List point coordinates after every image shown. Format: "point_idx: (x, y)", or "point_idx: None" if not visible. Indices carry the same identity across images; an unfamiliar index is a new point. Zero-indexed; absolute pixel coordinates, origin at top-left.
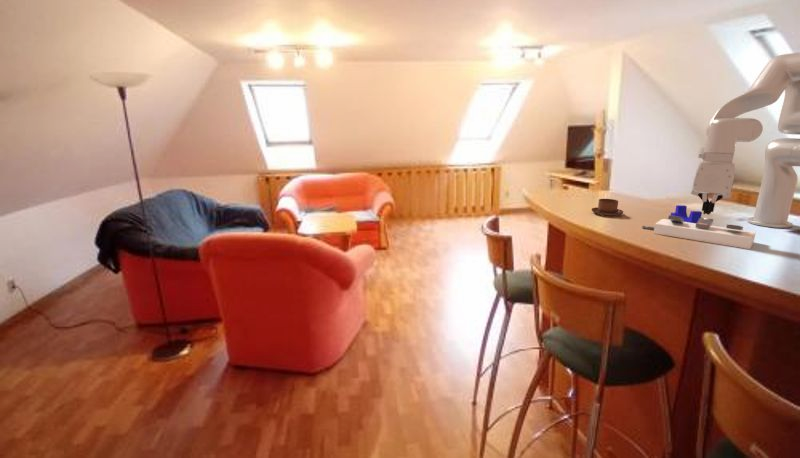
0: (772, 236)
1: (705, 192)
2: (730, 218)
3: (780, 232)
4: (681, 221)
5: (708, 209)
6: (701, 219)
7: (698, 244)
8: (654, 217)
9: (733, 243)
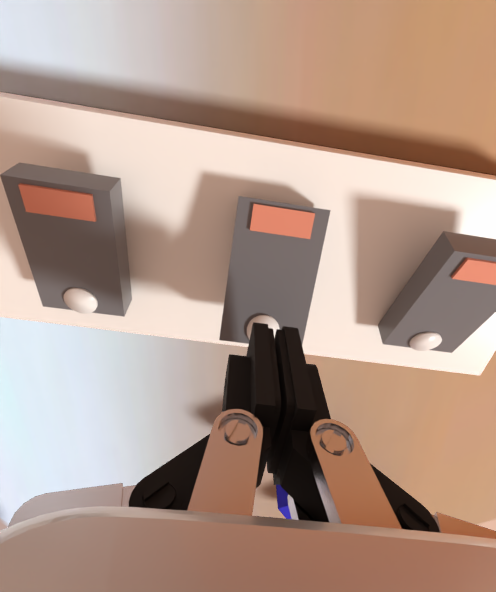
0: (10, 431)
1: (396, 535)
2: None
3: (8, 494)
4: (415, 271)
5: (267, 349)
6: (292, 315)
7: (286, 14)
8: (432, 500)
9: (87, 107)
